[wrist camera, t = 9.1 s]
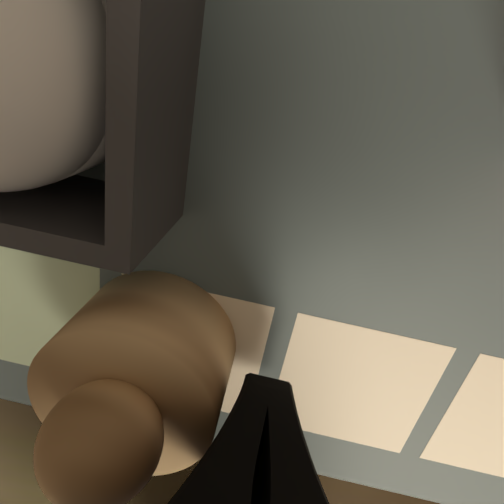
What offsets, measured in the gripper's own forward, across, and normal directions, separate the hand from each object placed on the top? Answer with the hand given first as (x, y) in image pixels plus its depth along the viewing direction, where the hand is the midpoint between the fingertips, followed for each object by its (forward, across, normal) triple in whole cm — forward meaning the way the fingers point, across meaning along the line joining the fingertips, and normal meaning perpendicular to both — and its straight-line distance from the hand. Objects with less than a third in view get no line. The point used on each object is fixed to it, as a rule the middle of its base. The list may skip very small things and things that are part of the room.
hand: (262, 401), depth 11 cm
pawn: (+1, +4, 0) cm, 4 cm away
